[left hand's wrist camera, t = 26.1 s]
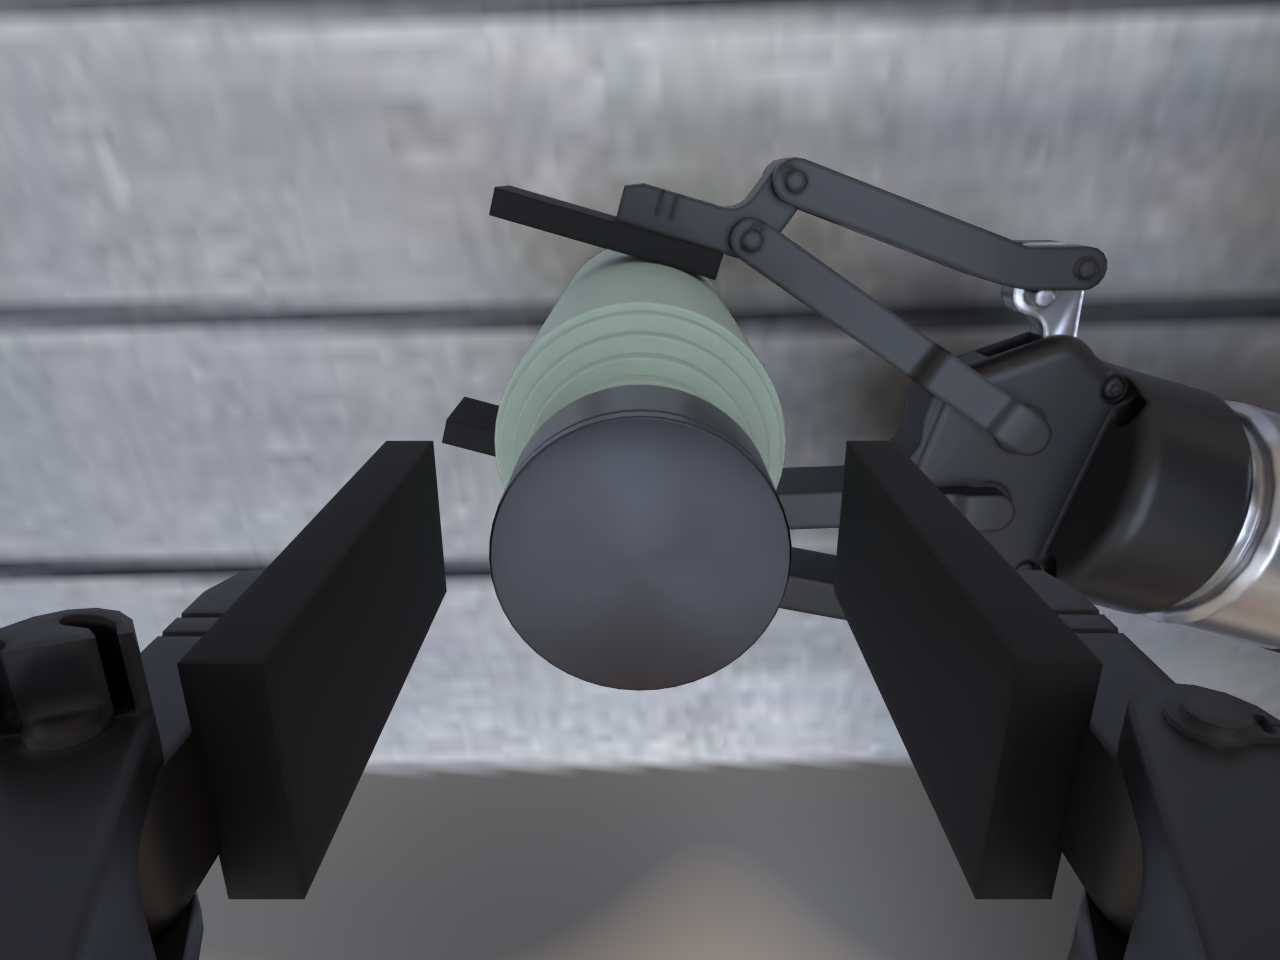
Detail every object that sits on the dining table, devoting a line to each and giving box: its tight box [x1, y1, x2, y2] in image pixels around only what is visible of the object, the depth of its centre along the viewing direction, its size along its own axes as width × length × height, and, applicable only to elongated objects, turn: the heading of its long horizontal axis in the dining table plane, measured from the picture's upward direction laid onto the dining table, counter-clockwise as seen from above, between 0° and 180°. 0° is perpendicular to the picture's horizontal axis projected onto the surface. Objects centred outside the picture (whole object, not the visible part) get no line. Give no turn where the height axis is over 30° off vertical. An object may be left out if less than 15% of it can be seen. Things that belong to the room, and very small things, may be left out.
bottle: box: [495, 249, 786, 490], centre depth 22 cm, size 6×6×20 cm
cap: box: [489, 385, 792, 690], centre depth 13 cm, size 4×4×2 cm
